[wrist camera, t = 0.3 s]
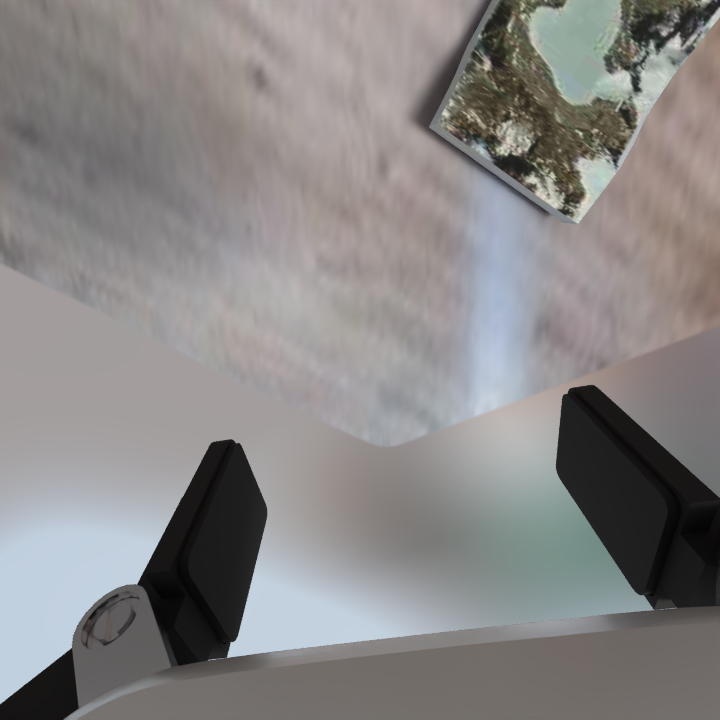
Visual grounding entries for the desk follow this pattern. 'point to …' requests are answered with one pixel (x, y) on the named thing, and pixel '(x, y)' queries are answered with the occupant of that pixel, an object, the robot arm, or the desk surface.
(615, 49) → the topographical model
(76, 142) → the desk surface
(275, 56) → the desk surface
